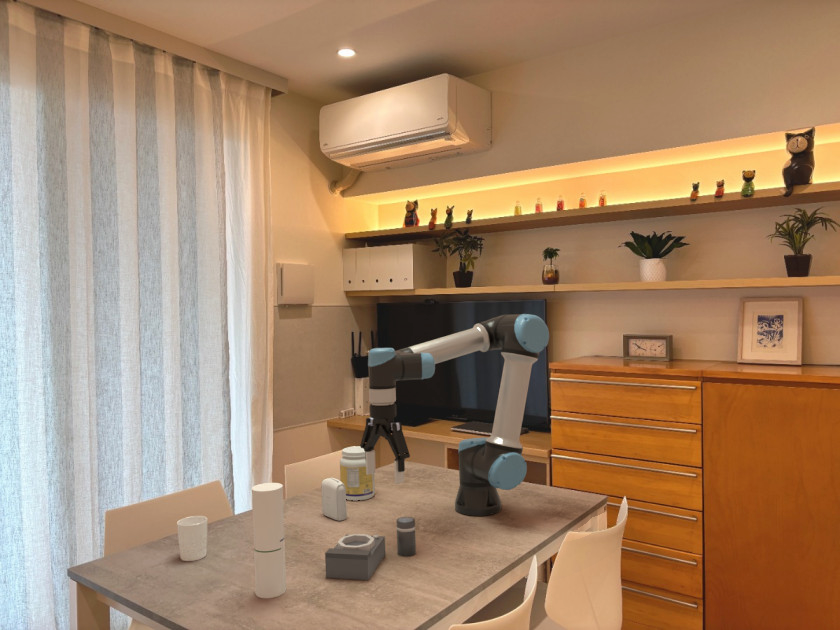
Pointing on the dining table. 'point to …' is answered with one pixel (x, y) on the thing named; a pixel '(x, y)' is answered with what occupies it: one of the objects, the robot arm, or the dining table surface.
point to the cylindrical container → (269, 540)
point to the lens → (406, 536)
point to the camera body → (355, 557)
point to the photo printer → (334, 499)
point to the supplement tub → (356, 474)
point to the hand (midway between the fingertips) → (384, 478)
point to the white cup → (192, 537)
